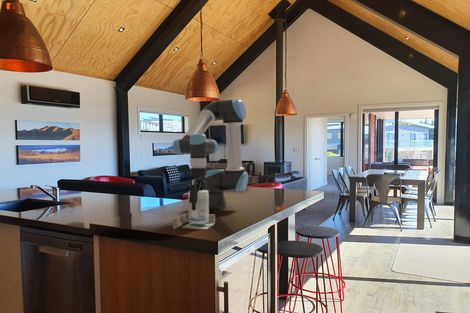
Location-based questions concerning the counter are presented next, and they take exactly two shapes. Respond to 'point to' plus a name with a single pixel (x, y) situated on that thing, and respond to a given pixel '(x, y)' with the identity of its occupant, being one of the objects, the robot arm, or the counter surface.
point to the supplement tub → (200, 208)
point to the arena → (185, 218)
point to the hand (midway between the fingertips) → (198, 214)
